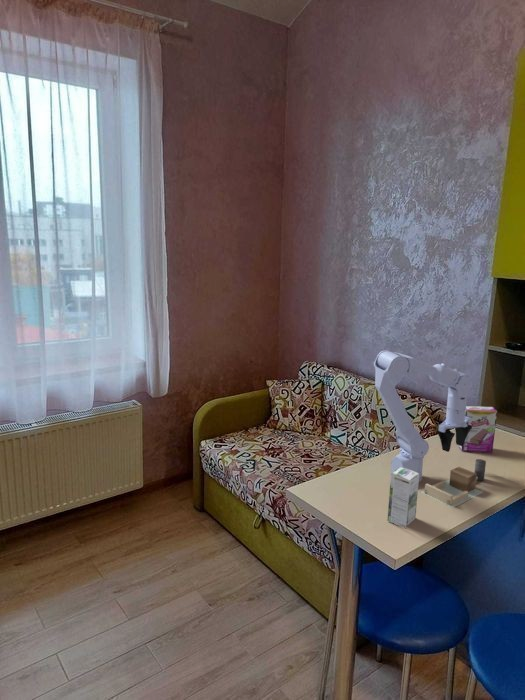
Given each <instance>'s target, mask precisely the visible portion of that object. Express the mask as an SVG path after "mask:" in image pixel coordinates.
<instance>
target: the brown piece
mask: <svg viewBox="0 0 525 700" xmlns="http://www.w3.org/2000/svg"><path fill="white" fill-rule="evenodd" d="M486 464H487V461H486V460H484V459H482V458H477V459H475V464H474V471H472V470H468V469H467V468H464V467H461V466H458V467H456V468H453V469H451V470H450V473H449V479H450V483H449V485H450V486H453V487H455V488H457V489H459V490H462V491H467V492H469V491H471V490H473V489H476V486H477V485H476V483H477V481H484V480H485V476H486V475H485V474H486Z"/></svg>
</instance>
